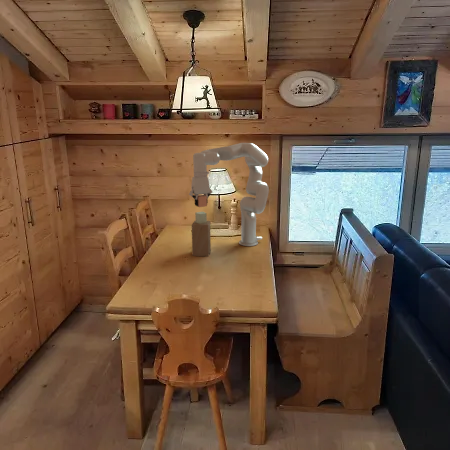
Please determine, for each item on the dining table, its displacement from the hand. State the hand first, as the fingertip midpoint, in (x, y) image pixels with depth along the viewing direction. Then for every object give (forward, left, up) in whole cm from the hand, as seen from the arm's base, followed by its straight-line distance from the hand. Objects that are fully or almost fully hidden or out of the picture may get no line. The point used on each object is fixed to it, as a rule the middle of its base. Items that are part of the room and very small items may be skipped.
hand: (201, 204), depth 246 cm
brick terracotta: (0, 0, -1) cm, 1 cm away
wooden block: (-2, -5, -32) cm, 33 cm away
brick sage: (-2, -5, -12) cm, 13 cm away
